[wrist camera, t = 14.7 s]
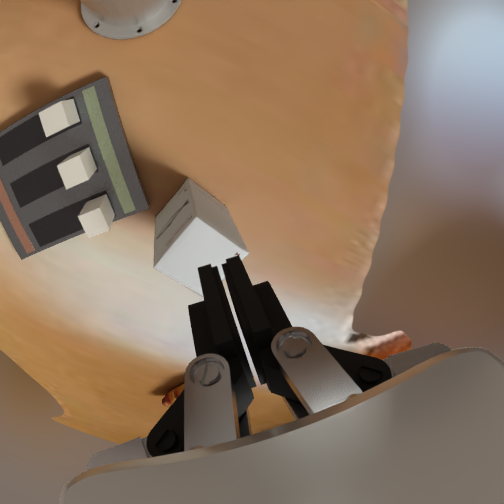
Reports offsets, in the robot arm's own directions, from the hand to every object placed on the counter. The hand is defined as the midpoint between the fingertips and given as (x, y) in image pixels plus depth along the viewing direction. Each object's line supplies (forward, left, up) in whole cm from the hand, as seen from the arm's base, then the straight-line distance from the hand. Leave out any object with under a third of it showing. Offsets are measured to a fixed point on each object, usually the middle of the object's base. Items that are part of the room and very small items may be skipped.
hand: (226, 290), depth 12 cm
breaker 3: (+3, -13, -27) cm, 30 cm away
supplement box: (+9, -2, -29) cm, 31 cm away
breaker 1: (-10, -13, -27) cm, 31 cm away
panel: (-3, -18, -29) cm, 34 cm away
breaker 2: (-3, -13, -27) cm, 30 cm away
